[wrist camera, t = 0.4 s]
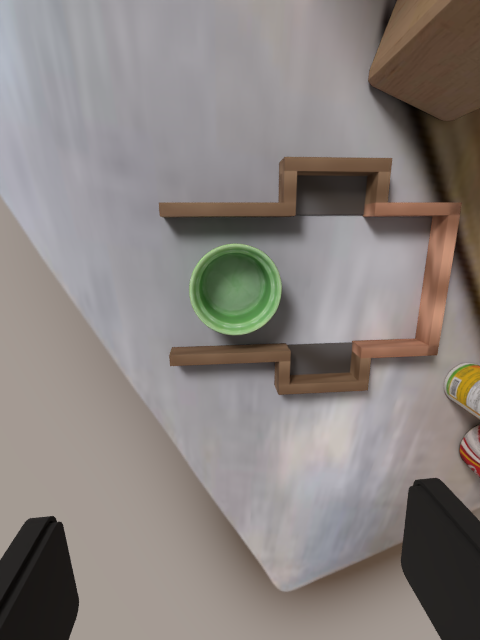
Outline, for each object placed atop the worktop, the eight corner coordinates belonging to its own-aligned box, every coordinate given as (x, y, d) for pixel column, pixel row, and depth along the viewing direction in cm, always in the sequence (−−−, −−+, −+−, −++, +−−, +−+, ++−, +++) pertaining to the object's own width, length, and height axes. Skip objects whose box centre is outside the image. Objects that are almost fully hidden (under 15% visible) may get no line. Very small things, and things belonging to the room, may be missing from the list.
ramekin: (174, 276, 35) (169, 282, 30) (242, 224, 34) (246, 223, 30) (224, 339, 37) (226, 352, 33) (289, 292, 36) (299, 300, 32)
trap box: (159, 161, 32) (155, 155, 29) (450, 164, 34) (468, 159, 32) (174, 389, 38) (172, 399, 36) (418, 377, 40) (431, 387, 38)
